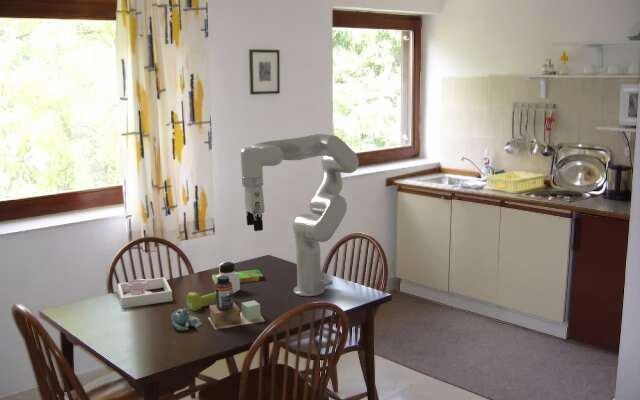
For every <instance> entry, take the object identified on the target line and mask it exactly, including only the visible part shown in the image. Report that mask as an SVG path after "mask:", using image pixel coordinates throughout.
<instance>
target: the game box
mask: <svg viewBox="0 0 640 400" xmlns="http://www.w3.org/2000/svg"><path fill="white" fill-rule="evenodd" d="M235 273H239V281H240V284H241V283H251V282H259V281H260V277H263V276H264V274H262V272H261V271H260V270H259V269H250V270H241V271H235ZM219 274H220V273H217V274H211V279H212V281H213V283H214V285H215V284H216V282H215V276H217V275H219Z"/></svg>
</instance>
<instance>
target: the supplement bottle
mask: <svg viewBox="0 0 640 400" xmlns="http://www.w3.org/2000/svg"><path fill="white" fill-rule="evenodd" d="M217 279H218V280H217V281H218V282H217V283H216V284H215V283H214V287H215V288H214V289H215V290H214V293H215V292H216V301H215V304H216V306H217V308H218V309H220V310H228V309H230V308H232V307H233V302H234V294H233V290H232V283H231V282H230V281H229V276H227V275H222V276H219V277H218V278H217Z"/></svg>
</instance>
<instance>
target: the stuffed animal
mask: <svg viewBox="0 0 640 400" xmlns="http://www.w3.org/2000/svg"><path fill="white" fill-rule="evenodd" d="M187 309H188V308H186V307H185V308H179V309H177V310H175V311H174V312H173V313H172V314H171V323H172V325H173V327H175V329H176V330H178V331H180V332H181V331H182V332H185V331H189V327H194V328H195V329H197V328H199V327H200V326H203V323H202V322H200V321H201V320H200V318H199V317H197V316H195V315H194V316H193V315H190V312H189V311H188V310H187Z"/></svg>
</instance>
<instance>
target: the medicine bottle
mask: <svg viewBox="0 0 640 400" xmlns="http://www.w3.org/2000/svg"><path fill="white" fill-rule="evenodd" d="M218 272H219V273H218V274H219V275H217V276H215V282H216V283H217V282H218V281H217V280H218V279H217V278H218V277H219V276H222V275H227V276H229V281H230V282H231V283H232V290H233V295H234V294H235V293H237V292H238V291H240V290H241V287H240V286H241V283H240V281H239V273H235V272H236V271H235V263H234V262H231V261H224V262H221V263H219V265H218Z"/></svg>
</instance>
